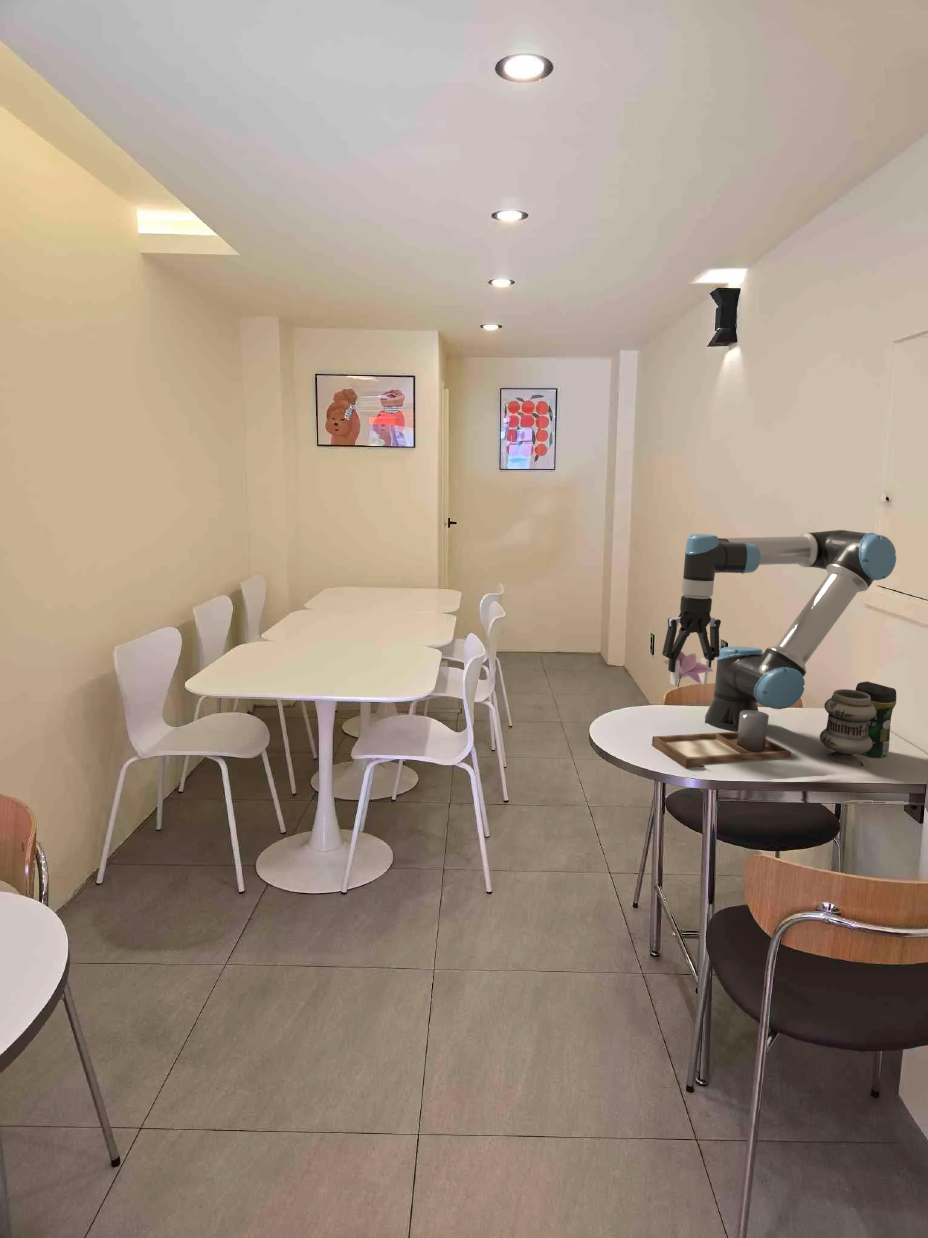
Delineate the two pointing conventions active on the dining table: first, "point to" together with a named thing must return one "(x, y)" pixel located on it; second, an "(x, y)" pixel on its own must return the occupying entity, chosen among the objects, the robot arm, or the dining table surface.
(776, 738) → the dining table surface
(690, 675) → the lily
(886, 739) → the coffee jar
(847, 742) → the apothecary jar
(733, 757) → the tray
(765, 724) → the grey rounded cylinder
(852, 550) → the robot arm
